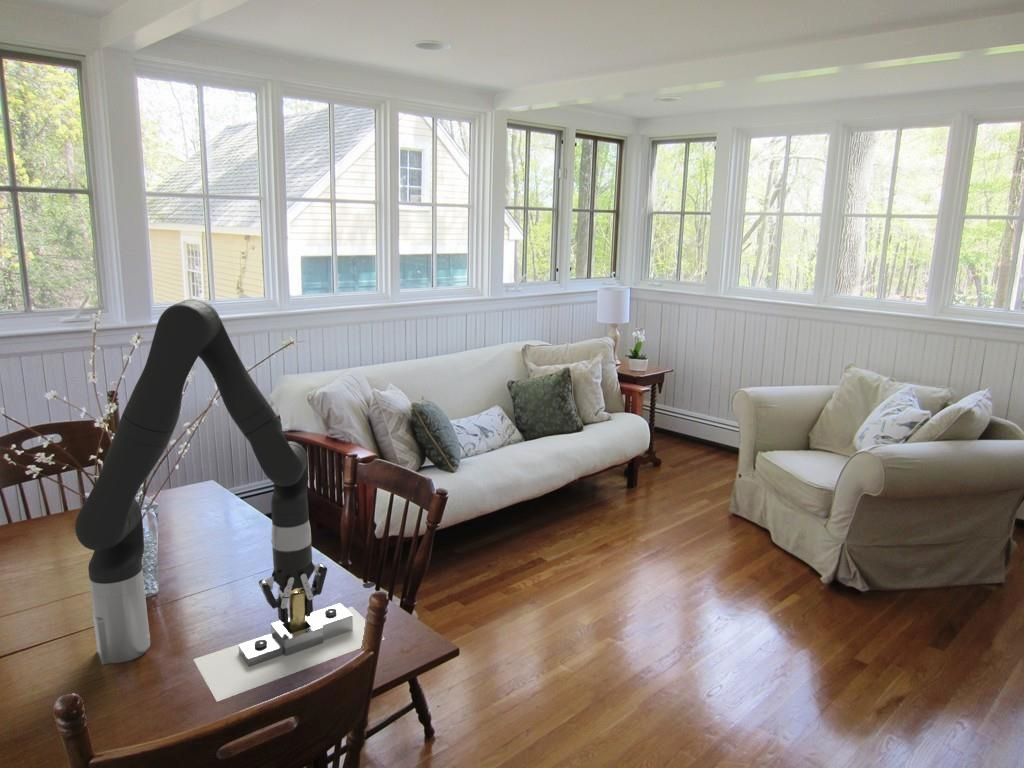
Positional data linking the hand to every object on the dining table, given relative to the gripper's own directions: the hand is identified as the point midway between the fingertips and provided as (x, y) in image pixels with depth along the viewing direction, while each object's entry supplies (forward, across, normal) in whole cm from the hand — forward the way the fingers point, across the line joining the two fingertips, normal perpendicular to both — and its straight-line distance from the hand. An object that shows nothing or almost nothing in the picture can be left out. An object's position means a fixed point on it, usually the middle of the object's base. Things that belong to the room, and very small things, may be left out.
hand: (296, 618), depth 149 cm
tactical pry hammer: (+7, +14, +15) cm, 21 cm away
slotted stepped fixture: (+5, 0, 0) cm, 5 cm away
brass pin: (+5, 0, 0) cm, 5 cm away
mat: (+6, -2, -2) cm, 6 cm away
